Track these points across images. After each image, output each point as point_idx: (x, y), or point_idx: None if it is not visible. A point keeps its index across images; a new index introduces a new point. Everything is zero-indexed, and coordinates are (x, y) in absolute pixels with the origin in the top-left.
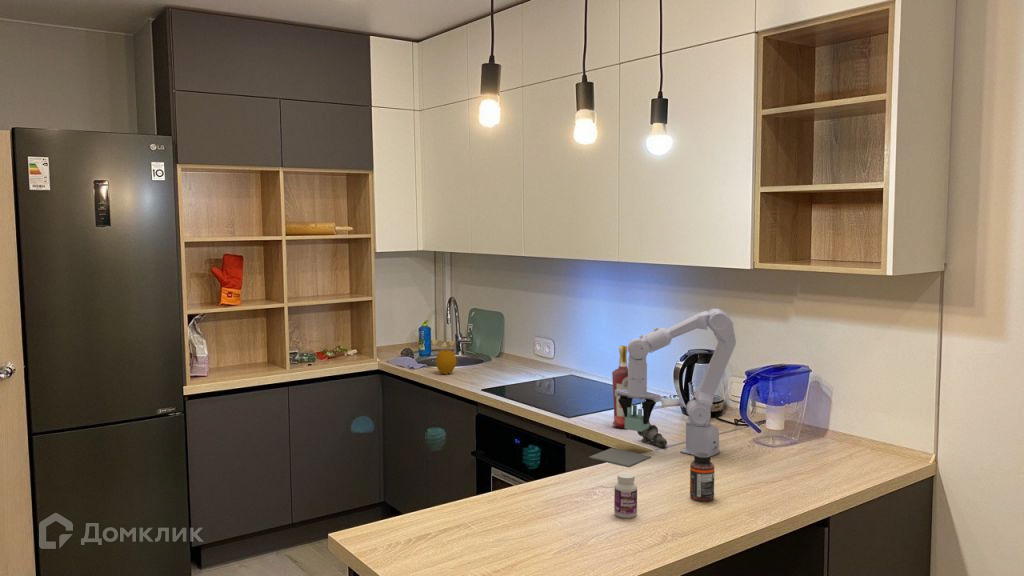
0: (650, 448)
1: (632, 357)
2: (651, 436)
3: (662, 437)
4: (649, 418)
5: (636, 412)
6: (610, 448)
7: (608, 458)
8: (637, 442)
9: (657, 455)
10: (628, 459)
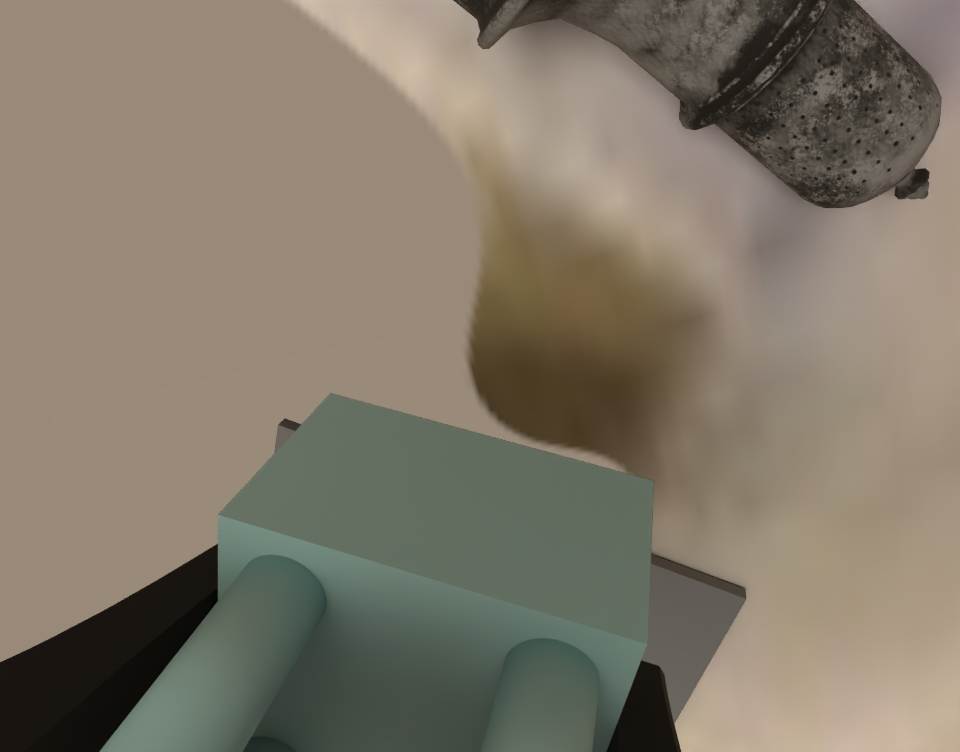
0: (673, 244)
1: None
2: (645, 69)
3: (867, 117)
4: (677, 745)
5: (297, 656)
6: (278, 444)
7: None
8: (432, 12)
9: (809, 499)
10: None
